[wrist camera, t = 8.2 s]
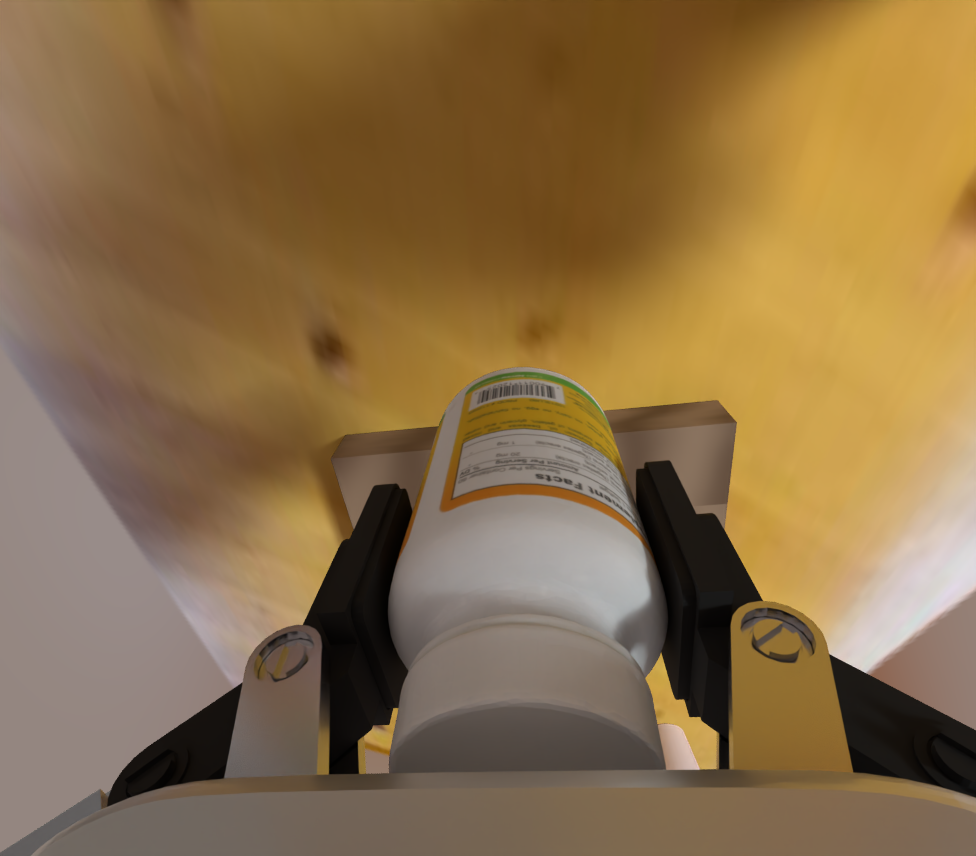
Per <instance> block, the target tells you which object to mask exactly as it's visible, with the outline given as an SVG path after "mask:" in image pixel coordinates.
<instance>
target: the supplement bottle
mask: <svg viewBox="0 0 976 856" xmlns="http://www.w3.org/2000/svg"><path fill="white" fill-rule="evenodd" d="M388 623H389V628H390V634H391V638H392V641H393V644H394V646H395V648H396V651H397V653H398V655H399V657H400V659H401V660H402V662H403V663H404V665H405V667H406V668H407V669H408V675H407V677H406V678H405V681H404V683H403V686H402V690H401V695H400V701H399V708H398V715H397V720H396V724H395V729H394V734H393V739H392V745H391V750H390V757H389V773H437V772H506V771H585V770H666V763H665V759H664V754H663V749H662V744H661V739H660V734H659V730H658V725H657V720H656V715H655V710H654V704H653V698H652V695H651V691H650V689H649V686H648V684H647V682H646V680H645V678H646V676H647V675H648V674H649V673H650V671H651V670H652V668H653V667H654V665H655V663H656V662H657V660H658V658H659V656H660V653H661V651H662V648H663V645H664V642H665V638H666V634H667V626H668V608H667V601H666V596H665V592H664V588H663V584H662V581H661V578H660V574H659V571H658V568H657V565H656V562H655V558H654V555H653V552H652V550H651V547H650V544H649V541H648V538H647V535H646V532H645V529H644V526H643V523H642V520H641V517H640V514H639V512H638V509H637V506H636V503H635V500H634V497H633V494H632V491H631V488H630V485H629V482H628V479H627V476H626V473H625V470H624V467H623V464H622V461H621V458H620V455H619V452H618V449H617V446H616V443H615V440H614V437H613V434H612V431H611V428H610V426H609V423H608V421H607V418H606V416H605V414H604V412H603V410H602V409H601V407H600V406H599V404H598V403H597V402H596V400H595V399H594V398H593V397H592V395H591V394H590V393H589V392H588V391H587V390H585V389H584V388H583V387H582V386H581V385H579V384H578V383H576V382H575V381H573V380H572V379H570V378H568V377H566V376H563V375H561V374H558V373H556V372H552V371H548V370H544V369H539V368H531V367H516V368H508V369H503V370H499V371H495V372H492V373H489V374H487V375H484V376H482V377H480V378H478V379H476V380H475V381H473V382H472V383H470V384H469V385H467V386H466V387H465V388H464V389H463V390H461V391H460V392H459V393H458V394H457V395H456V396H455V398H454V399H453V400H452V401H451V403H450V404H449V405H448V407H447V409H446V410H445V412H444V414H443V417H442V419H441V421H440V424H439V426H438V429H437V433H436V436H435V439H434V443H433V446H432V449H431V453H430V456H429V460H428V463H427V466H426V470H425V473H424V476H423V479H422V482H421V486H420V489H419V492H418V496H417V499H416V502H415V506H414V509H413V512H412V515H411V518H410V521H409V525H408V528H407V531H406V534H405V537H404V540H403V543H402V547H401V550H400V553H399V556H398V560H397V563H396V567H395V571H394V575H393V579H392V583H391V588H390V593H389V599H388Z"/></svg>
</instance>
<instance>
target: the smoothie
mask: <svg viewBox="0 0 976 856" xmlns="http://www.w3.org/2000/svg"><path fill="white" fill-rule="evenodd" d="M658 730H659V734H660V739H661V744H662V749H663V754H664V759H665V763H666V770H700V769H699V766H698V764H697V762H696V759H695V757H694V755H693V752H692V750H691V748H690V745H689V743H688V741H687V738H686V736H685V734H684V731H683V730H682V729H681V728H680V727H678V726H676V725H672V724H659V725H658Z"/></svg>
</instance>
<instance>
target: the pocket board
mask: <svg viewBox="0 0 976 856" xmlns="http://www.w3.org/2000/svg"><path fill="white" fill-rule="evenodd" d="M603 412H604V414H605V416H606V418H607V421H608V423H609V426H610V428H611V431H612V434H613V437H614V440H615V443H616V446H617V449H618V452H619V455H620V458H621V461H622V464H623V467H624V470H625V473H626V476H627V479H628V482H629V485H630V488H631V491H632V494H633V497H634V500H635V503H636V470H637V469H642V468H644V463H645V462H653V461H664V460H670V461H671V463H672V465H673V467H674V469H675V471H676V473H677V475H678V477H679V479H680V481H681V483H682V485H683V487H684V489H685V491H686V493H687V495H688V498H689V500H690V502H691V504H692V506H693V508H694V510H695V512H696V514H704V513H713V514H715V515H716V516H717V518H718V519H719V521H720V523H721V525H722V527H723V528H725V519H726V510H727V502H728V493H729V485H730V476H731V467H732V459H733V450H734V442H735V433H736V425H737V422H736V421H735V420H734V419H733V418H732V416H731V415H730V414H729V413H728V412H727V411H726V410H725V408H724V407H723V406H722V405H721V404H720V403H719V401H718V400H716V401H705V402H695V403H684V404H673V405H663V406H652V407H641V408H630V409H620V410H609V411H603ZM437 429H438V427H428V428H417V429H406V430H396V431H385V432H374V433H364V434H353V435H345V437H344V438H343V440H342V442H341V443H340V445H339V446H338V448H337V450H336V451H335V453H334V454H333V456H332V458H331V461H332V464H333V467H334V470H335V473H336V476H337V479H338V483H339V486H340V489H341V492H342V495H343V498H344V501H345V504H346V507H347V510H348V514H349V517H350V520H351V523H352V526H353V529H354V528H355V526H356V524H357V522H358V519H359V517H360V515H361V513H362V510H363V508H364V506H365V504H366V501H367V499H368V497H369V495H370V493H371V490H372V488H373V487H374V486H375V485H382V484H394V483H397V484H398V485H399V487H400V489H403V488H405V489H406V490H407V492H408V496H409V500H410V503H411V507H412V511H413V509H414V506H415V502H416V499H417V496H418V492H419V489H420V486H421V482H422V479H423V476H424V473H425V470H426V466H427V463H428V460H429V456H430V453H431V449H432V446H433V443H434V439H435V436H436V433H437Z"/></svg>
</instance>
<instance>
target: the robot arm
mask: <svg viewBox="0 0 976 856" xmlns="http://www.w3.org/2000/svg"><path fill="white" fill-rule="evenodd" d="M636 506H637V509H638V512H639V514H640V517H641V520H642V523H643V526H644V529H645V532H646V535H647V538H648V541H649V544H650V547H651V550H652V552H653V555H654V558H655V562H656V565H657V568H658V571H659V574H660V578H661V581H662V584H663V588H664V592H665V596H666V601H667V608H668V626H667V634H666V638H665V642H664V645H663V648H662V651H661V653H662V656H663V660H664V663H665V667H666V670H667V674H668V677H669V681H670V684H671V688H672V692H673V695H674V697H675V699H676V700H679V699H684V700H685V703H686V707H687V710H688V713H689V717H701V720H702V721H703V722H704V723H705V724H707V725H708V726H710V727H711V728H712V729H714V730H715V731H717V769H707V770H585V771H506V772H437V773H383V774H366V766H365V744H364V735H366V734H367V733H368V732H369V731H370V730H371V729H372V727H373V725H389V724H390V720H391V715H392V711H393V708H399V701H400V695H401V690H402V686H403V683H404V681H405V678H406V677H407V675H408V669H407V668H406V667H405V665H404V663H403V662H402V660H401V659H400V657H399V655H398V653H397V651H396V648H395V646H394V644H393V641H392V638H391V634H390V628H389V623H388V599H389V593H390V588H391V583H392V579H393V575H394V571H395V567H396V563H397V560H398V556H399V553H400V550H401V547H402V543H403V540H404V537H405V534H406V531H407V528H408V525H409V521H410V518H411V515H412V512H413V511H412V507H411V503H410V500H409V496H408V492H407V490H406V489H405V488H403V489H400V487H399V485H398V484H397V483H394V484H382V485H375V486H374V487H373V488H372V490H371V493H370V495H369V497H368V499H367V501H366V504H365V506H364V508H363V510H362V513H361V515H360V517H359V519H358V522H357V524H356V526H355V528H354V530H353V533H352V535H351V537H350V539H346V540H344V541H343V542H342V543H341V545H340V546H339V548H338V551H337V553H336V555H335V557H334V559H333V561H332V563H331V566H330V568H329V570H328V572H327V574H326V576H325V578H324V581H323V583H322V585H321V587H320V589H319V591H318V593H317V596H316V598H315V600H314V602H313V604H312V606H311V609H310V611H309V613H308V615H307V617H306V619H305V621H304V624H303V625H294V626H289V627H286V628H283V629H281V630H279V631H276V632H275V633H273V634H272V635H270V636H269V637H267V638H266V639H264V640H263V641H262V642H261V643H260V644H259V645H258V646H257V647H256V648H255V650H254V651H253V653H252V654H251V656H250V657H249V660H248V662H247V665H246V668H245V673H244V678H243V683H241V684H240V685H238V686H237V687H235V688H234V689H232V690H231V691H229V692H228V693H226V694H225V695H223V696H222V697H220V698H219V699H217V700H216V701H215V702H213V703H212V704H210V705H209V706H207V707H206V708H204V709H203V710H202V711H200V712H199V713H197V714H196V715H194V716H193V717H191V718H189V719H188V720H187V721H185V722H184V723H182V724H181V725H179V726H178V727H176V728H175V729H173V730H172V731H170V732H169V733H167V734H166V735H164V736H163V737H161V738H160V739H159V740H157V741H156V742H154V743H153V744H151V745H150V746H148V747H147V748H146V749H144V750H143V751H142V752H141V753H139V754H138V755H137V756H136V757H134V758H133V760H132V761H131V762H130V763H129V764H128V765H127V766H126V767H125V768H124V769H123V770H122V772H121V773H120V775H119V777H118V778H117V780H116V781H115V783H114V784H113V787H112V789H111V790H110V791H109V792H107V793H106V794H105V793H104V792H103V791H102V790H101V789H99V790H98V791H96V792H95V793H93V794H91V795H90V796H88V797H87V798H85V799H84V800H82V801H81V802H79V803H77V804H76V805H74V806H73V807H71V808H69V809H68V810H66V811H65V812H63V813H62V814H60V815H59V816H57V817H55V818H54V819H52V820H51V821H49V822H48V823H46V824H44V825H43V826H41V827H40V828H38V829H37V830H35V831H33V832H32V833H30V834H29V835H27V836H26V837H24V838H22V839H21V840H20V841H18V842H16V843H15V844H13V845H11V846H10V847H8V848H7V849H5V850H4V851H2V852H0V856H976V730H974V729H972V728H970V727H968V726H966V725H964V724H962V723H961V722H959V721H956V720H955V719H953V718H951V717H949V716H947V715H945V714H943V713H941V712H939V711H937V710H936V709H934V708H932V707H930V706H928V705H926V704H924V703H922V702H920V701H918V700H916V699H914V698H912V697H910V696H909V695H907V694H905V693H903V692H901V691H899V690H897V689H895V688H893V687H891V686H889V685H887V684H885V683H884V682H881V681H880V680H878V679H876V678H874V677H872V676H870V675H868V674H866V673H864V672H862V671H861V670H859V669H857V668H855V667H853V666H851V665H849V664H847V663H845V662H843V661H841V660H839V659H837V658H836V657H834V656H832V655H830V654H829V652H828V647H827V643H826V641H825V638H824V636H823V633H822V632H821V630H820V629H819V628H818V627H817V626H816V624H815V623H814V622H813V621H812V620H810V619H809V618H808V617H807V616H805V615H804V614H803V613H801V612H799V611H797V610H795V609H793V608H791V607H789V606H786V605H783V604H779V603H776V602H768V601H763V600H762V598H761V596H760V595H759V593H758V591H757V589H756V587H755V585H754V584H753V582H752V580H751V578H750V576H749V574H748V573H747V571H746V569H745V567H744V565H743V563H742V561H741V560H740V558H739V556H738V554H737V552H736V550H735V549H734V547H733V545H732V543H731V541H730V539H729V538H728V536H727V534H726V532H725V530H724V528H723V527H722V525H721V523H720V521H719V519H718V518H717V516H716V515H715V514H713V513H704V514H696V512H695V510H694V508H693V506H692V504H691V502H690V500H689V498H688V495H687V493H686V491H685V489H684V487H683V485H682V483H681V481H680V479H679V477H678V475H677V473H676V471H675V469H674V467H673V465H672V463H671V461H670V460H664V461H653V462H645V463H644V468H642V469H637V470H636Z"/></svg>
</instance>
